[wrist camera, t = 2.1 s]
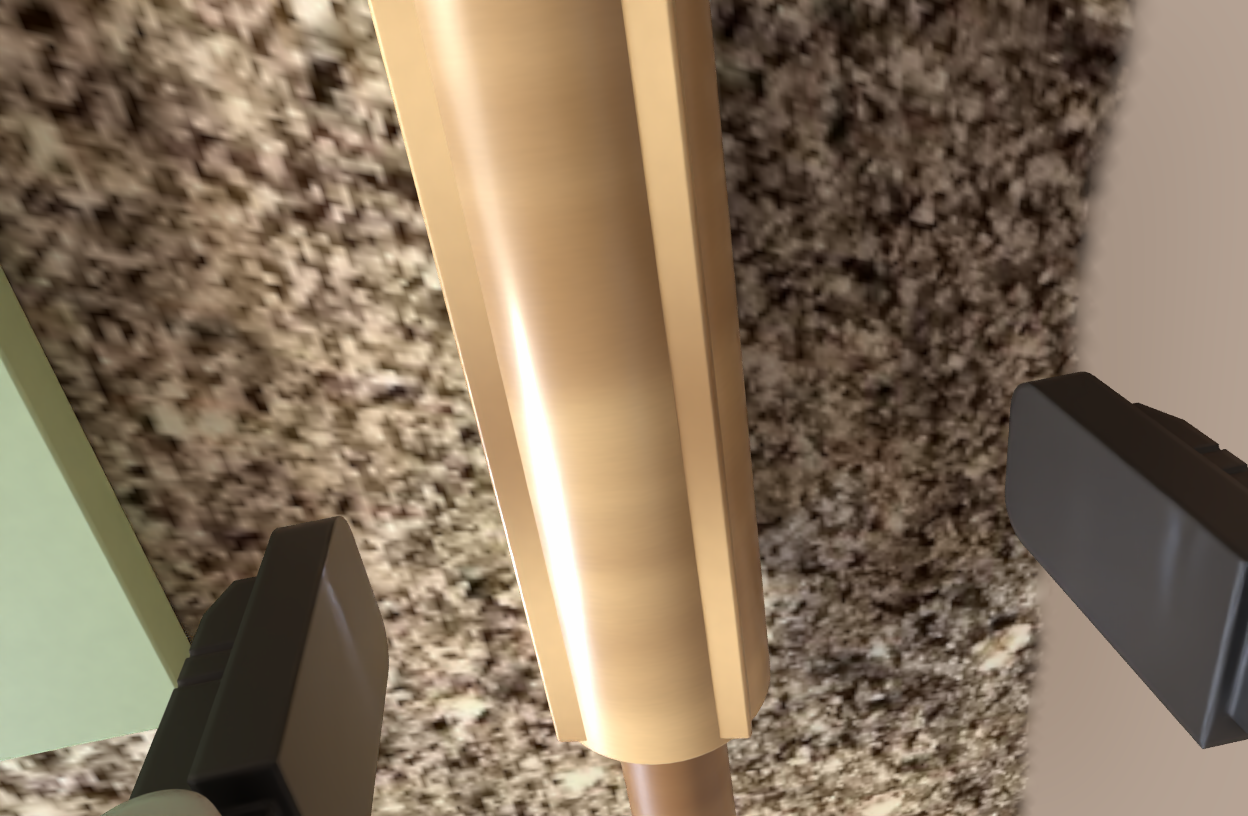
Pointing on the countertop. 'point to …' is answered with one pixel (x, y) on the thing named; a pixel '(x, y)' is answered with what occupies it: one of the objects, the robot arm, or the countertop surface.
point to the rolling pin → (600, 358)
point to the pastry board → (69, 574)
